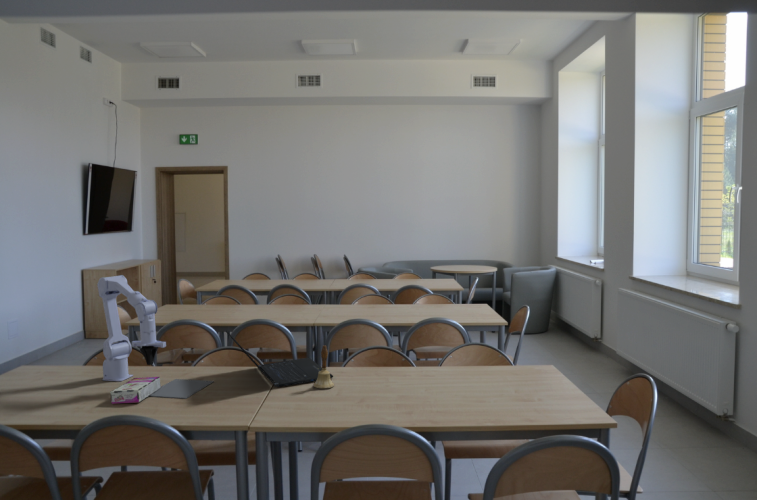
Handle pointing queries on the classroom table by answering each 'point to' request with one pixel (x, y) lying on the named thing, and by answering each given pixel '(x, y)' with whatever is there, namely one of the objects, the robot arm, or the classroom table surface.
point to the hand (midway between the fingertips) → (150, 364)
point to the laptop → (288, 370)
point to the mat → (180, 388)
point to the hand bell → (323, 372)
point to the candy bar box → (135, 390)
